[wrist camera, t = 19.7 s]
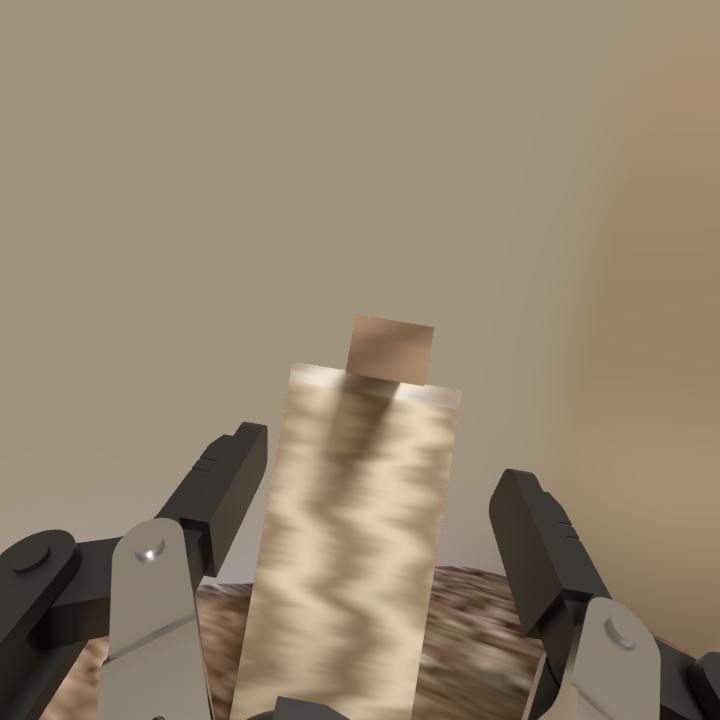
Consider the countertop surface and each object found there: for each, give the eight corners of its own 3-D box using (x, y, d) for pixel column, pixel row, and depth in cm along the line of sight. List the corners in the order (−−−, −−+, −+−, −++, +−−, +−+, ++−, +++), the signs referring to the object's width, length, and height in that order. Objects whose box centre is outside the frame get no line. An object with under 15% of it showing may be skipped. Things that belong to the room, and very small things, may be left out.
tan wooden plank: (391, 378, 41) (395, 355, 41) (434, 388, 16) (444, 329, 16) (353, 371, 41) (356, 348, 41) (335, 371, 16) (345, 312, 16)
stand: (384, 631, 41) (424, 383, 42) (398, 799, 25) (462, 391, 26) (277, 611, 41) (319, 366, 42) (221, 764, 25) (292, 362, 26)
